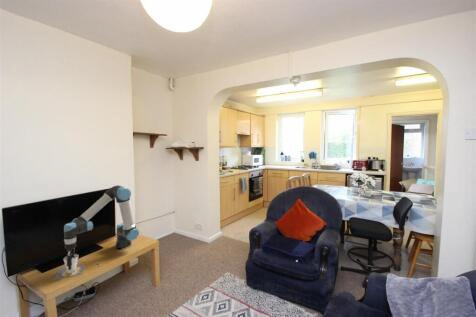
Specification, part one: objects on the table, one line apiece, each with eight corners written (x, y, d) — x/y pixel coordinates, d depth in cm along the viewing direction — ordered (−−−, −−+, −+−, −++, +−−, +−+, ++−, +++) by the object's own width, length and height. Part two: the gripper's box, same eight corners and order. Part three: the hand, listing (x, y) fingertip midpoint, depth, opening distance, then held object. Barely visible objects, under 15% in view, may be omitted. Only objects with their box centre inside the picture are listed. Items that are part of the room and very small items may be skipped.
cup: (67, 275, 174) (66, 261, 173) (61, 271, 179) (61, 258, 178) (81, 269, 182) (80, 256, 181) (75, 265, 187) (75, 253, 186)
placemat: (85, 264, 192) (85, 264, 192) (81, 275, 178) (81, 274, 178) (59, 269, 184) (59, 269, 184) (53, 280, 170) (53, 280, 170)
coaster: (82, 266, 189) (82, 265, 189) (79, 274, 177) (79, 273, 177) (64, 269, 184) (63, 269, 184) (59, 278, 172) (59, 277, 172)
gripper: (68, 238, 187) (69, 264, 188) (60, 249, 168) (62, 278, 169) (79, 236, 190) (80, 262, 191) (73, 247, 171) (74, 276, 173)
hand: (71, 269), depth 180 cm, fingers closed on cup, 8 cm apart
